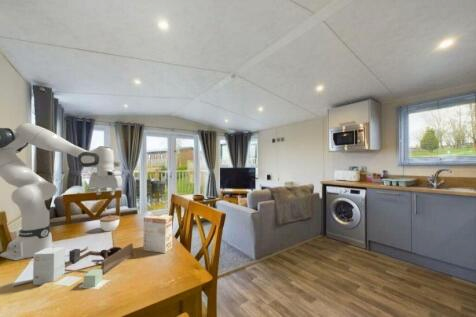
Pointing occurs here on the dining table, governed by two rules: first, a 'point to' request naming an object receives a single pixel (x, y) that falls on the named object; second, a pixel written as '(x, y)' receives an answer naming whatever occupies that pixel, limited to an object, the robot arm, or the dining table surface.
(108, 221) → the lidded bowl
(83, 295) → the dining table surface
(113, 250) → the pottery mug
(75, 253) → the sled strip
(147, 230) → the coffeecake box
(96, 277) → the sage cube
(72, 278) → the broken strip
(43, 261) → the small box
